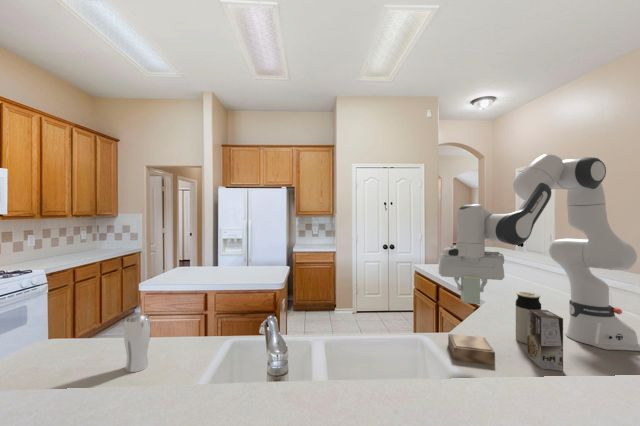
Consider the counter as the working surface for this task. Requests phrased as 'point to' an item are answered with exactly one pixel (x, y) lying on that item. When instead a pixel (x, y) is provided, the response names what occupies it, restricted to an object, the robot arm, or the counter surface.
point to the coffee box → (545, 339)
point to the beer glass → (137, 342)
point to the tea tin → (470, 289)
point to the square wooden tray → (471, 349)
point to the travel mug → (525, 312)
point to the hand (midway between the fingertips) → (470, 291)
